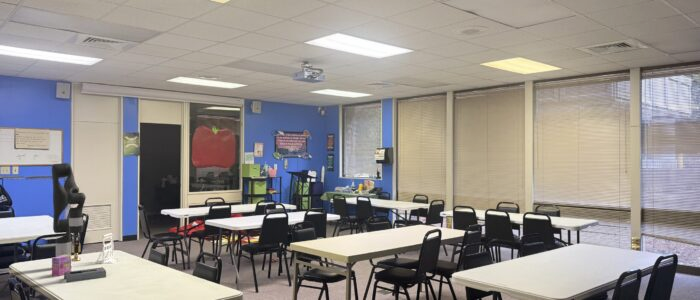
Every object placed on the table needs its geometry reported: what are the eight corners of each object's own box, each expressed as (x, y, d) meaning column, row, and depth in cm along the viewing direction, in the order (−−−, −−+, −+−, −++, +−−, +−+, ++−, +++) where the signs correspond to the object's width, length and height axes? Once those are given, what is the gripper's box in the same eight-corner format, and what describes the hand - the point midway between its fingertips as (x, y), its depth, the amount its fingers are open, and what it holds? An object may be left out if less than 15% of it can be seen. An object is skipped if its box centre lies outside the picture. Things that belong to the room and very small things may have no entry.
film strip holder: (113, 263, 348) (113, 235, 348) (94, 263, 348) (94, 235, 348) (123, 259, 362) (123, 232, 362) (104, 259, 362) (104, 232, 363)
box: (59, 276, 311) (59, 257, 311) (51, 276, 312) (51, 257, 313) (71, 272, 321) (71, 254, 322) (64, 272, 323) (64, 254, 323)
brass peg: (70, 260, 305) (70, 243, 305) (80, 259, 308) (80, 242, 308) (71, 261, 301) (71, 244, 301) (81, 260, 304) (81, 243, 304)
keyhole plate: (66, 282, 296) (66, 275, 296) (64, 278, 306) (64, 272, 306) (106, 276, 309) (106, 270, 309) (102, 273, 318) (102, 267, 318)
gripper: (67, 224, 308) (67, 251, 308) (70, 226, 297) (70, 254, 296) (81, 223, 313) (81, 249, 312) (84, 225, 301) (84, 253, 301)
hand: (75, 252), depth 304 cm, fingers closed on brass peg, 4 cm apart
